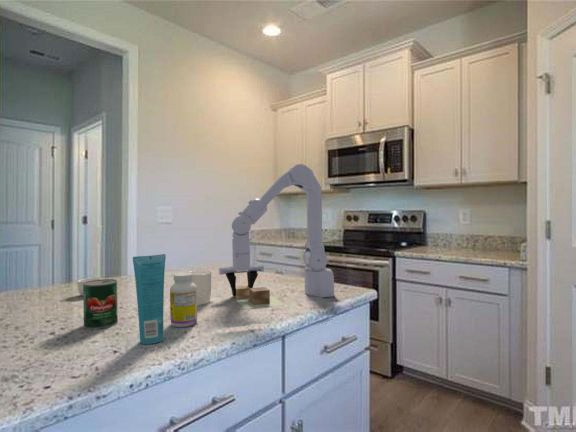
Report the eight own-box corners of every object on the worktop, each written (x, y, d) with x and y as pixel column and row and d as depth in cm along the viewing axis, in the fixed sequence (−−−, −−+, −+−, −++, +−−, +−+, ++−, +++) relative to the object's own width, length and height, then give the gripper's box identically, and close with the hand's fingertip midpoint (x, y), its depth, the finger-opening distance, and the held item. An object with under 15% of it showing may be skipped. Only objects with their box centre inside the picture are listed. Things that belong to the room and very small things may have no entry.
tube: (160, 334, 88) (159, 252, 87) (172, 338, 84) (170, 254, 84) (130, 343, 82) (128, 256, 82) (141, 348, 79) (139, 257, 78)
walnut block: (264, 299, 116) (264, 286, 116) (269, 303, 111) (269, 290, 111) (249, 301, 114) (249, 288, 114) (253, 305, 110) (253, 291, 110)
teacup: (91, 298, 125) (91, 282, 125) (72, 297, 127) (71, 281, 127) (111, 291, 135) (111, 277, 135) (93, 291, 137) (93, 276, 137)
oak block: (247, 297, 124) (246, 285, 124) (250, 300, 120) (250, 288, 120) (233, 298, 123) (233, 286, 122) (236, 301, 118) (236, 289, 118)
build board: (272, 299, 121) (272, 296, 121) (284, 308, 109) (284, 304, 109) (235, 302, 116) (235, 299, 116) (244, 312, 105) (244, 309, 105)
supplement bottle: (175, 320, 99) (174, 271, 99) (200, 320, 99) (199, 271, 98) (166, 328, 92) (165, 276, 92) (193, 328, 92) (192, 276, 92)
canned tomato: (94, 331, 90) (94, 286, 90) (77, 326, 95) (76, 283, 94) (124, 322, 97) (123, 280, 97) (106, 318, 101) (105, 278, 101)
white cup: (205, 309, 110) (205, 275, 110) (181, 307, 111) (180, 274, 111) (216, 302, 117) (215, 270, 117) (192, 301, 119) (192, 270, 119)
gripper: (259, 250, 127) (259, 290, 127) (216, 253, 122) (217, 294, 122) (265, 253, 121) (266, 294, 121) (220, 255, 116) (221, 299, 116)
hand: (241, 294), depth 121 cm, fingers closed on oak block, 4 cm apart
